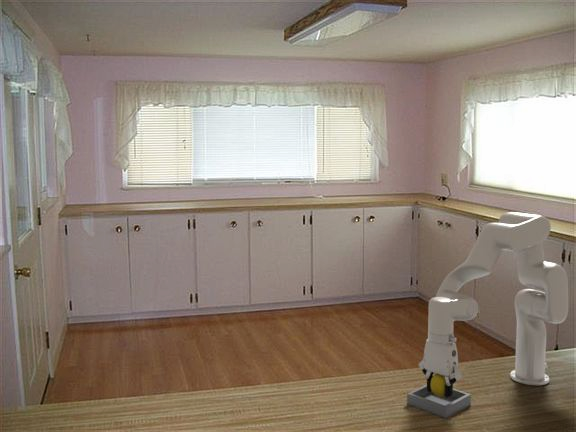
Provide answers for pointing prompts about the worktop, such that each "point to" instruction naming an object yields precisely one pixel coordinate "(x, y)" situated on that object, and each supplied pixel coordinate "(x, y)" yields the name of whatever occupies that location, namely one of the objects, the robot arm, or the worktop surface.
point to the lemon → (438, 385)
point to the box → (438, 402)
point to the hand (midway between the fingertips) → (439, 392)
